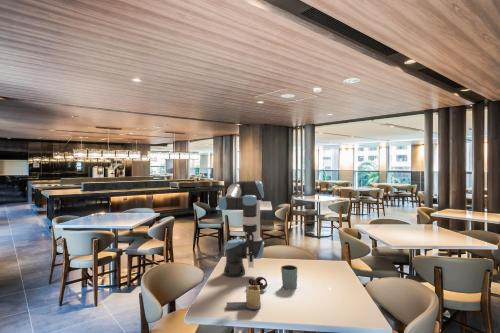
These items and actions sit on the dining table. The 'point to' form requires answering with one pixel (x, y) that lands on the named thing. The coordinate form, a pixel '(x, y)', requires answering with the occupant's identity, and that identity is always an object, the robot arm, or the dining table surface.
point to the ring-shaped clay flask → (258, 282)
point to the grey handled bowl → (241, 306)
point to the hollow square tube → (252, 296)
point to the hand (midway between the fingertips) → (250, 263)
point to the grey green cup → (289, 277)
